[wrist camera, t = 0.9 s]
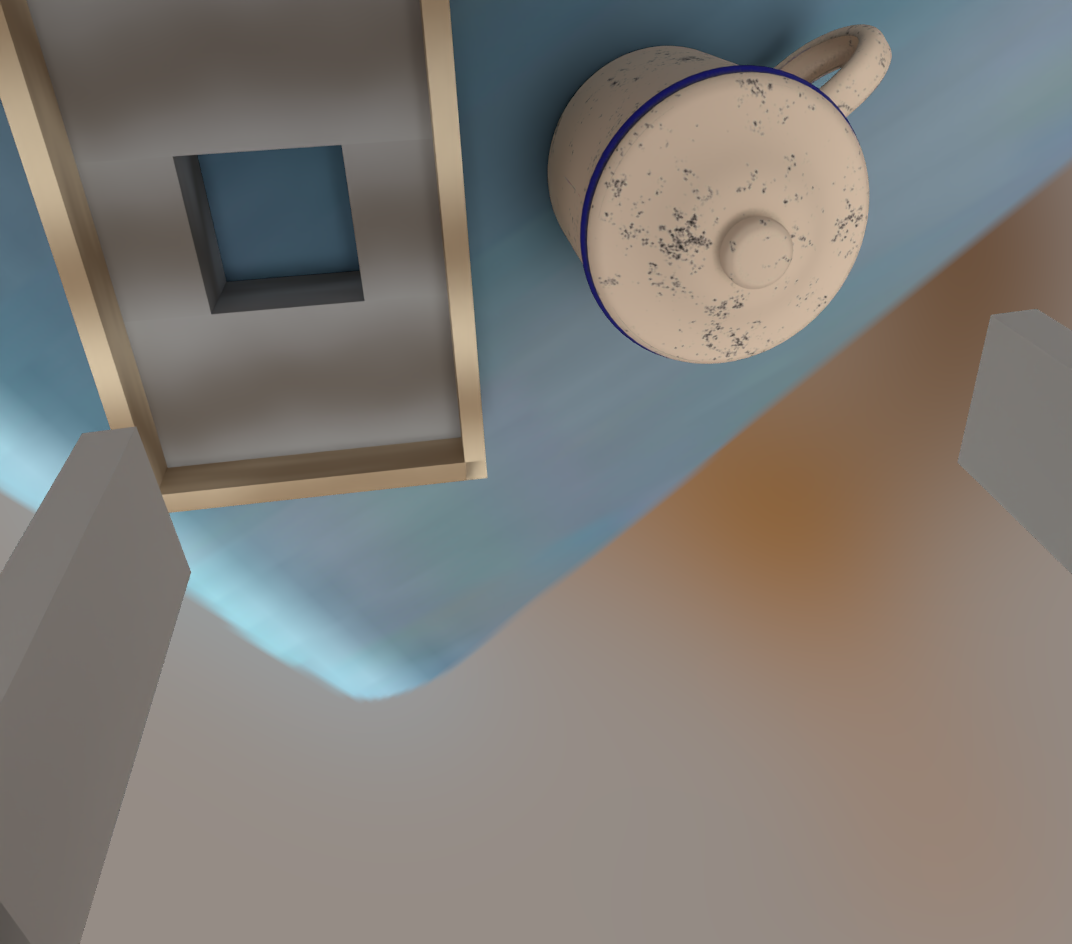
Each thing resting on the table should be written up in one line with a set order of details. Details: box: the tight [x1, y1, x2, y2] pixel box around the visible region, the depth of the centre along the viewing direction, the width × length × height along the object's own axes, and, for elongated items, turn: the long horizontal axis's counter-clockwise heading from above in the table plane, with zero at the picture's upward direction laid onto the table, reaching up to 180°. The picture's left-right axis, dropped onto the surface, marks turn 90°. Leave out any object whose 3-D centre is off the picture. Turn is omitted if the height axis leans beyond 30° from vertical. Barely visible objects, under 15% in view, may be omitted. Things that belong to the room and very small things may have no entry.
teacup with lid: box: [548, 25, 891, 364], centre depth 29 cm, size 12×9×12 cm
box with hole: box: [0, 0, 487, 513], centre depth 31 cm, size 19×13×6 cm
